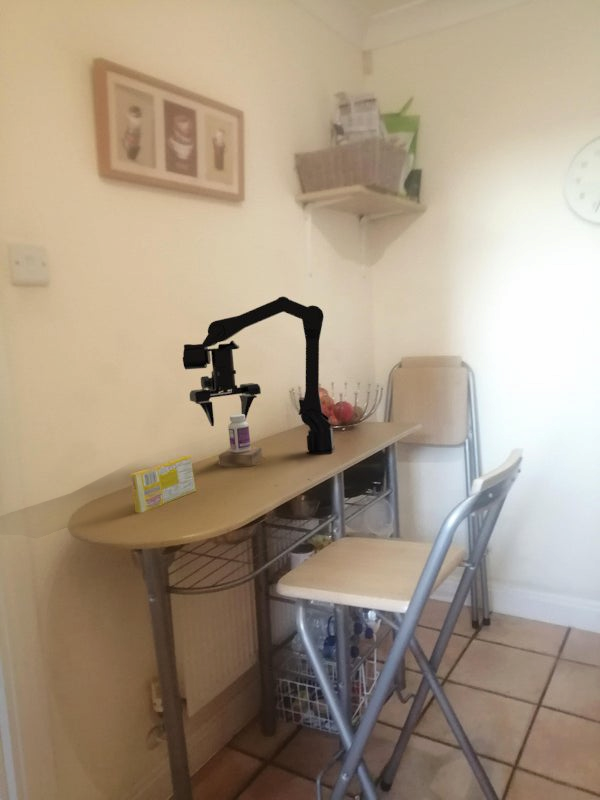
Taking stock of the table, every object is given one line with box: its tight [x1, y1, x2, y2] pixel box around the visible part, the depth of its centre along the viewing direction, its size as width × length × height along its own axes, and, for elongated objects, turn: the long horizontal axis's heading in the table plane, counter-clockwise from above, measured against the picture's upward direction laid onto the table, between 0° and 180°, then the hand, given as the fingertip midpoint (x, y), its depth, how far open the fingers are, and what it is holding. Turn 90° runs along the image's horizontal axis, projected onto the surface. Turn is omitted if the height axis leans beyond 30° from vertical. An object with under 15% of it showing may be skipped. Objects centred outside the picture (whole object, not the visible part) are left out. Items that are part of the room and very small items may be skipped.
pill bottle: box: [227, 413, 252, 453], centre depth 163 cm, size 5×5×10 cm
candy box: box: [129, 455, 197, 514], centre depth 132 cm, size 16×2×8 cm, turn 146°
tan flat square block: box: [218, 446, 263, 468], centre depth 164 cm, size 9×9×3 cm
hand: (228, 423), depth 169 cm, fingers open, 9 cm apart
